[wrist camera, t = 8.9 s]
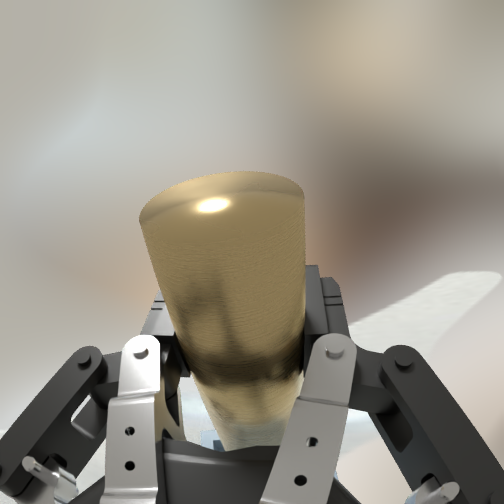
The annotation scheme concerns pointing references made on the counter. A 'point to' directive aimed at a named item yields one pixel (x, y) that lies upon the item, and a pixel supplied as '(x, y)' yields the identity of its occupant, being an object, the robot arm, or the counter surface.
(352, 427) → the counter surface
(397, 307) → the counter surface
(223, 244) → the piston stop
